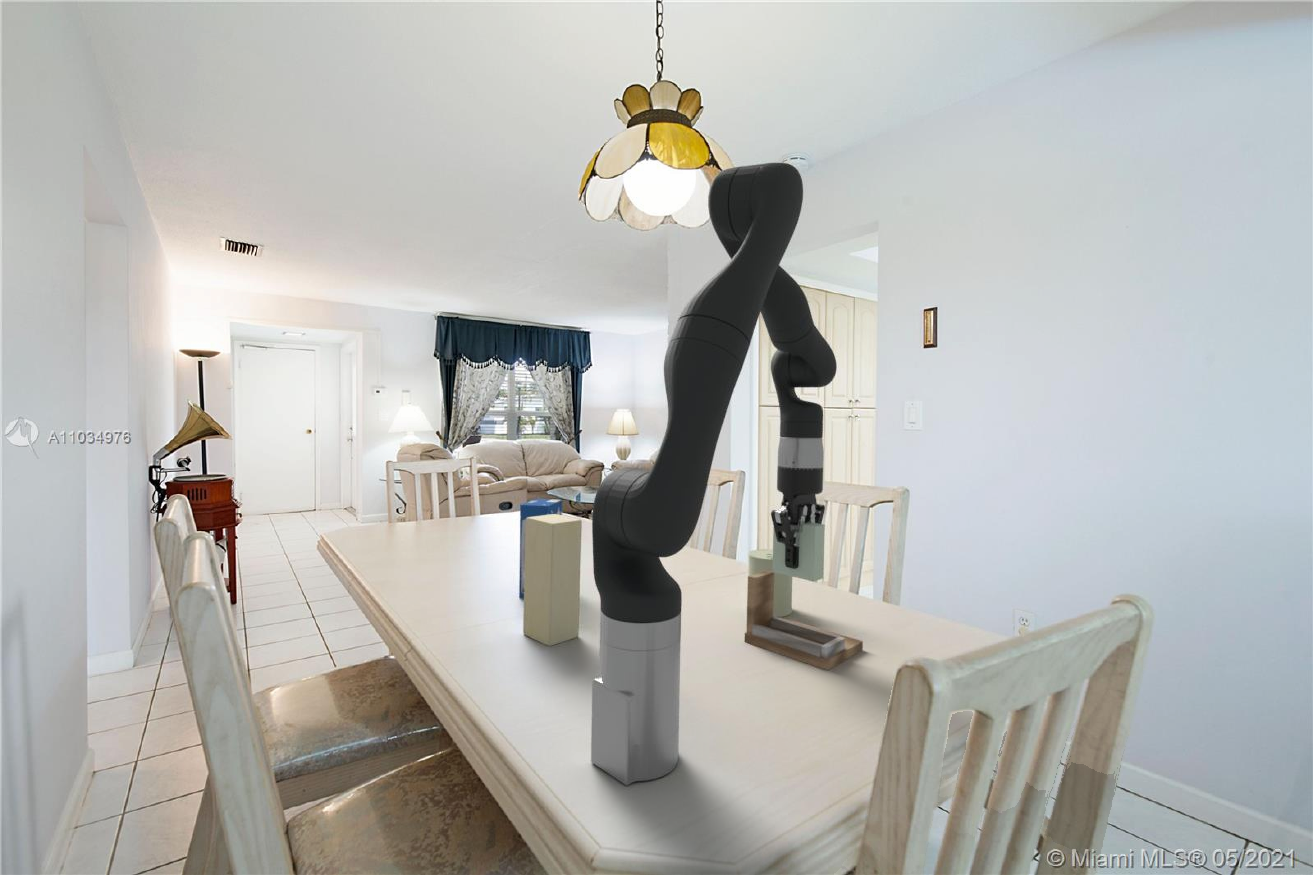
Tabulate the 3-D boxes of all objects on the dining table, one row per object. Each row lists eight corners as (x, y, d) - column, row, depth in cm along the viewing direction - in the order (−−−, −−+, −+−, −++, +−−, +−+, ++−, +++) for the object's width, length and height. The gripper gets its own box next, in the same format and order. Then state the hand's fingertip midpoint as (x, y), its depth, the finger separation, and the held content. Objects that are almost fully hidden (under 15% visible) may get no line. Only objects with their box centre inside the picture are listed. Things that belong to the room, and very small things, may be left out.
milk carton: (535, 584, 136) (536, 498, 136) (561, 586, 135) (562, 499, 135) (519, 598, 126) (520, 504, 126) (547, 599, 125) (548, 505, 125)
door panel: (813, 581, 97) (815, 526, 96) (772, 571, 102) (773, 520, 102) (823, 578, 99) (824, 524, 98) (782, 568, 104) (783, 518, 104)
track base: (827, 670, 93) (829, 597, 92) (744, 641, 104) (746, 576, 104) (862, 649, 101) (864, 583, 101) (782, 625, 113) (784, 565, 112)
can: (744, 614, 118) (746, 555, 118) (748, 601, 127) (750, 545, 127) (791, 619, 116) (793, 558, 116) (792, 605, 125) (794, 548, 125)
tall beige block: (583, 635, 105) (585, 518, 105) (549, 647, 100) (551, 523, 99) (555, 624, 111) (557, 513, 110) (522, 634, 105) (523, 517, 105)
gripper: (797, 468, 92) (794, 578, 93) (841, 464, 102) (838, 563, 103) (757, 464, 97) (754, 568, 98) (802, 461, 107) (800, 555, 108)
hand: (797, 565), depth 100 cm, fingers closed on door panel, 3 cm apart
